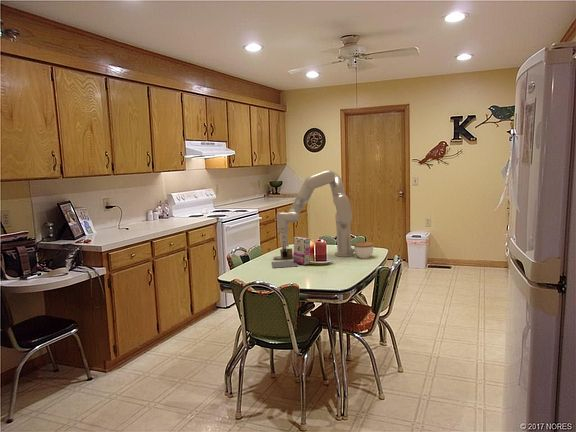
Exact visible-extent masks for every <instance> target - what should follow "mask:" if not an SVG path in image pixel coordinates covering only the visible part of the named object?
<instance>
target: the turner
mask: <svg viewBox="0 0 576 432" xmlns="http://www.w3.org/2000/svg"><path fill="white" fill-rule="evenodd" d="M282 252H283V249H282V248H280V253H279V254H280V255H279V256H273V260H274V261H275V260H283V259H285V260H286V259H293V257H294V253H293V248H287V257H285V258H283V254H282Z"/></svg>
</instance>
